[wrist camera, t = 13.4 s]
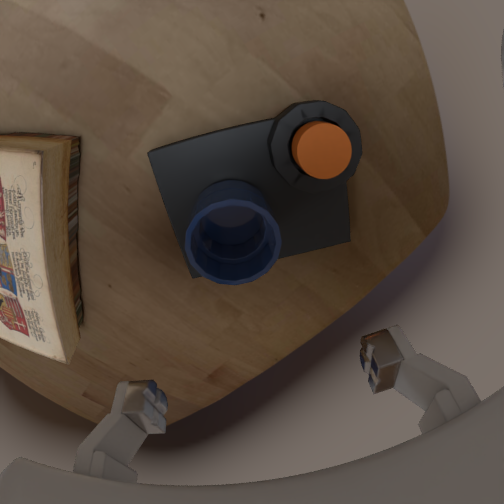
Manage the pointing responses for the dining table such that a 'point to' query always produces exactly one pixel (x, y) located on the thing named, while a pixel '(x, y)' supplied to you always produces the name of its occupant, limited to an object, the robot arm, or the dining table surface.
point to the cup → (232, 233)
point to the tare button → (321, 149)
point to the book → (39, 243)
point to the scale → (262, 176)
